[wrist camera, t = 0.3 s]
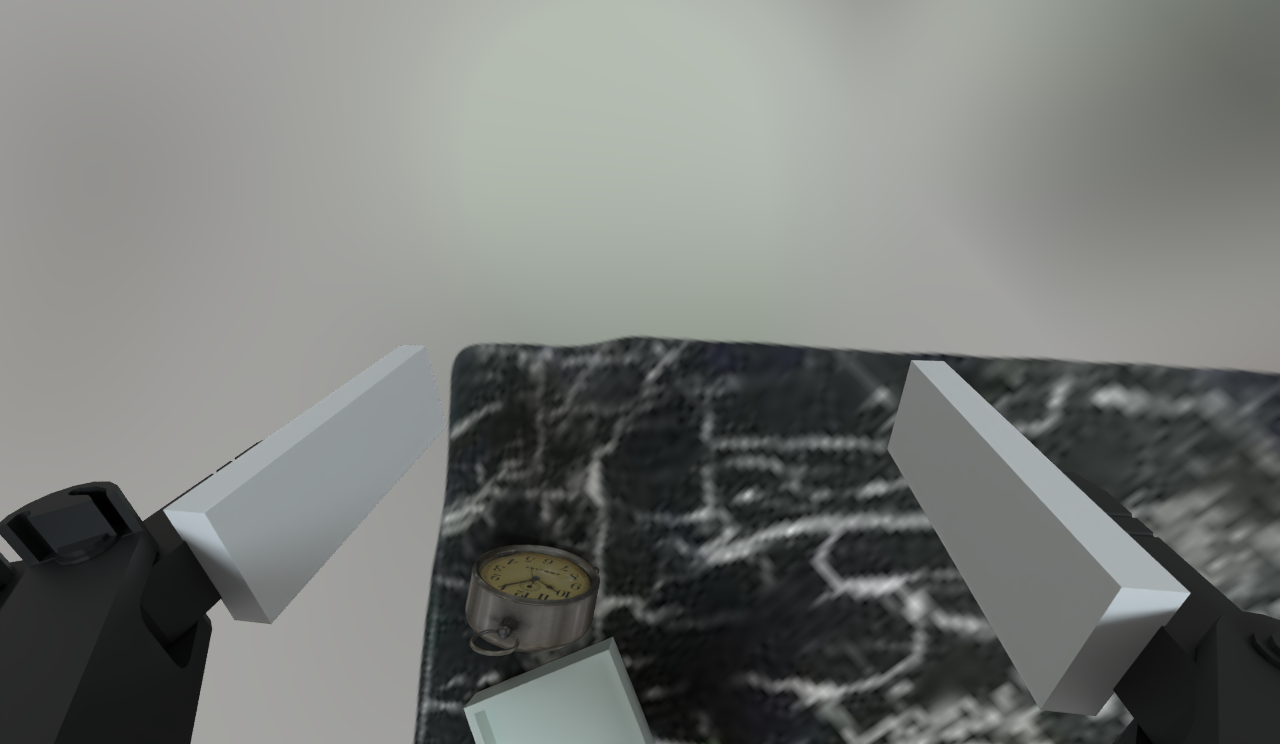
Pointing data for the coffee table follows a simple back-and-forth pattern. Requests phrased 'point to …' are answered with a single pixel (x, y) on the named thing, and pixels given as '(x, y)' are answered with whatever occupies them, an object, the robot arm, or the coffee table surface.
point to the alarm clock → (530, 598)
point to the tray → (563, 703)
